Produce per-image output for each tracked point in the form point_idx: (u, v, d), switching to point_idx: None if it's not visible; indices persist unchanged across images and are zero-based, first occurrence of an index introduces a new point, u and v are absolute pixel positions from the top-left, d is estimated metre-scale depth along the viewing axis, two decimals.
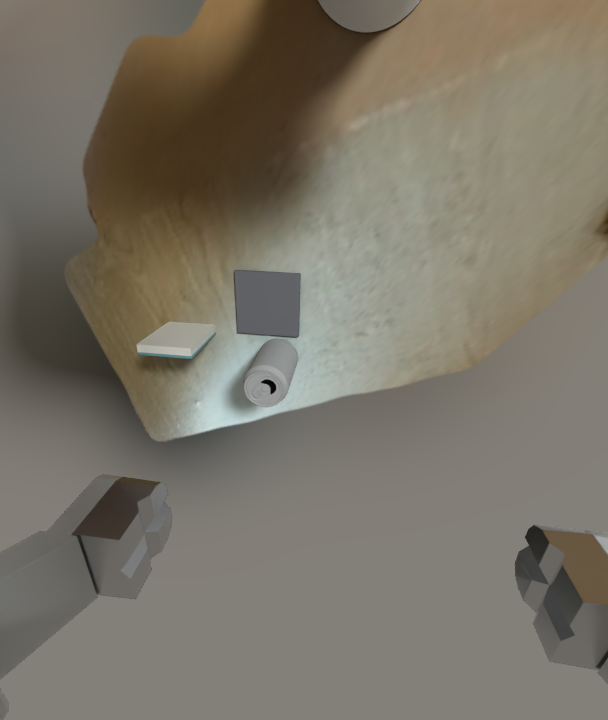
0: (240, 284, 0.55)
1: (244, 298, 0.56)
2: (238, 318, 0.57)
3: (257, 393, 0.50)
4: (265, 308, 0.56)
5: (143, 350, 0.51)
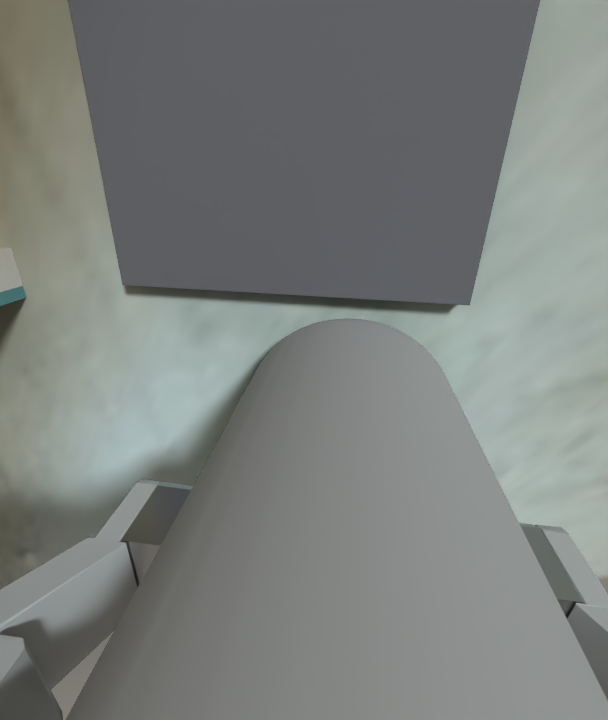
0: None
1: (131, 35, 0.08)
2: (114, 193, 0.10)
3: None
4: (274, 107, 0.08)
5: None
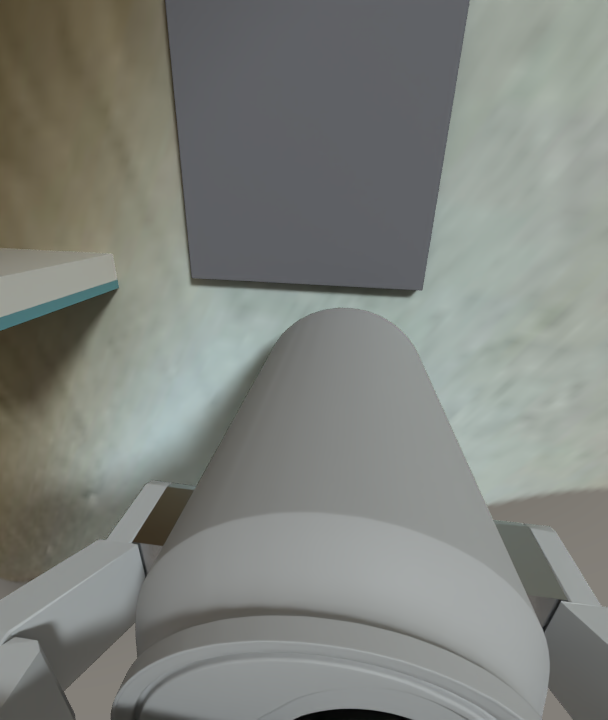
0: (192, 54, 0.13)
1: (212, 125, 0.13)
2: (192, 218, 0.15)
3: None
4: (297, 167, 0.14)
5: None
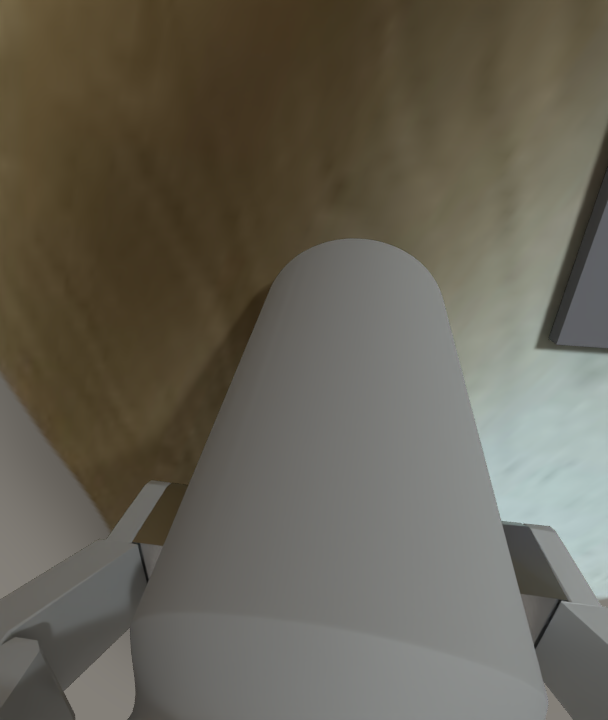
0: None
1: None
2: (587, 280, 0.13)
3: None
4: None
5: None
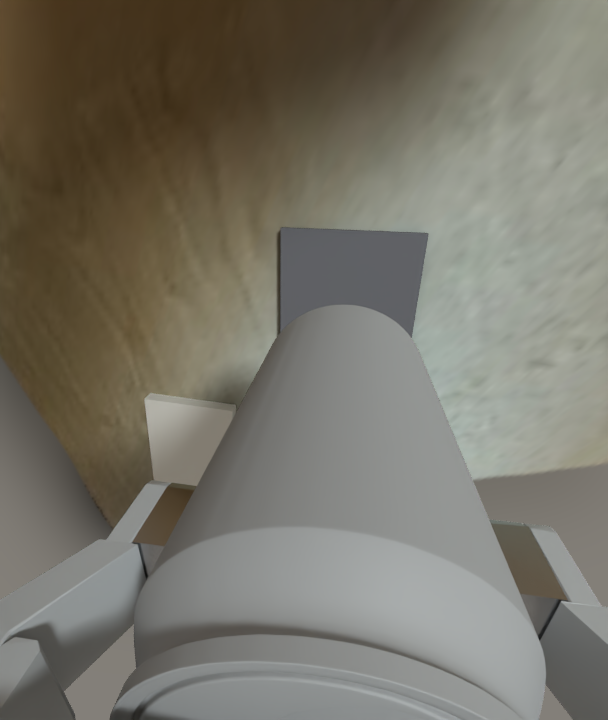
0: (291, 259, 0.26)
1: (298, 289, 0.26)
2: None
3: None
4: None
5: None
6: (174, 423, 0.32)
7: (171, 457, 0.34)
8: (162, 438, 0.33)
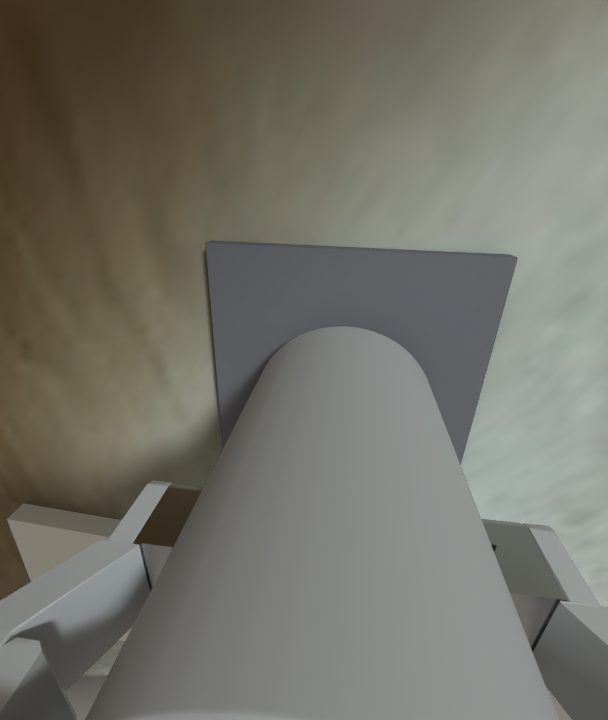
0: (231, 304, 0.13)
1: (249, 359, 0.14)
2: (227, 427, 0.15)
3: None
4: None
5: None
6: (61, 554, 0.20)
7: None
8: None
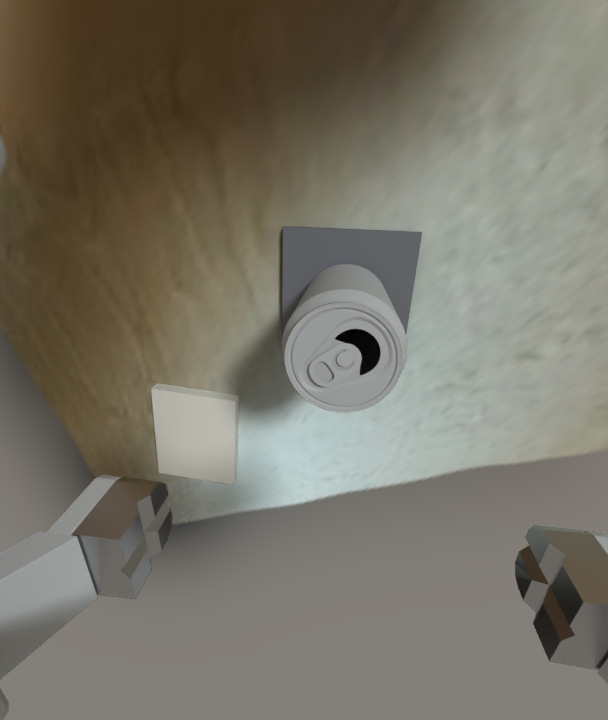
0: (293, 256, 0.27)
1: (299, 285, 0.28)
2: (285, 324, 0.29)
3: (320, 371, 0.18)
4: None
5: None
6: (179, 412, 0.34)
7: (175, 445, 0.35)
8: (167, 427, 0.35)
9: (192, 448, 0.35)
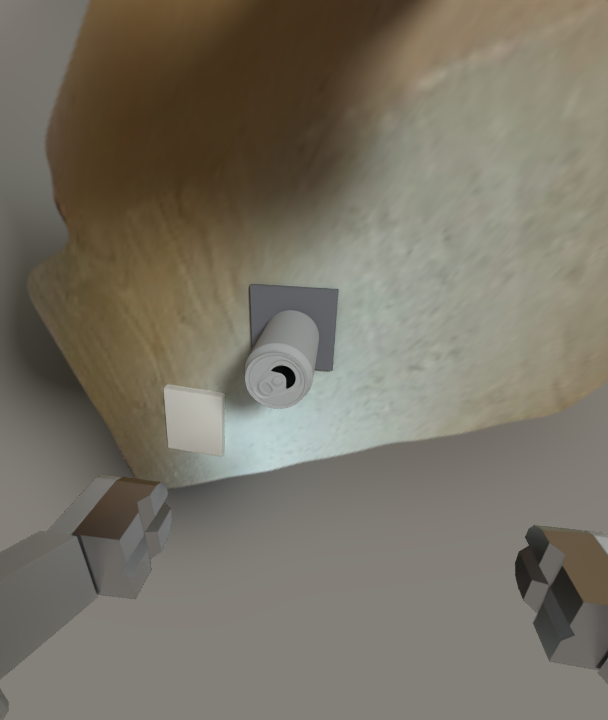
0: (257, 303, 0.41)
1: (262, 321, 0.42)
2: (254, 346, 0.44)
3: (265, 387, 0.32)
4: None
5: None
6: (183, 405, 0.48)
7: (180, 428, 0.50)
8: (175, 415, 0.49)
9: (192, 430, 0.50)
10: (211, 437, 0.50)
